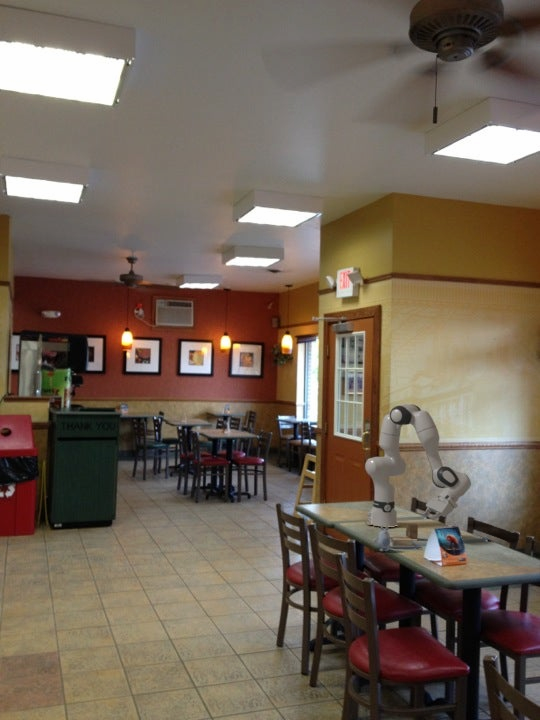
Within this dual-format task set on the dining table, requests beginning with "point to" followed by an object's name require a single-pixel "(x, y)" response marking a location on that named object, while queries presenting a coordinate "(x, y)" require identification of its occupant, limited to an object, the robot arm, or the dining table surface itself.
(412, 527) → the walnut pillar
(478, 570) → the dining table surface
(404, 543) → the oak pedestal
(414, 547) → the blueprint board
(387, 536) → the toy figure
